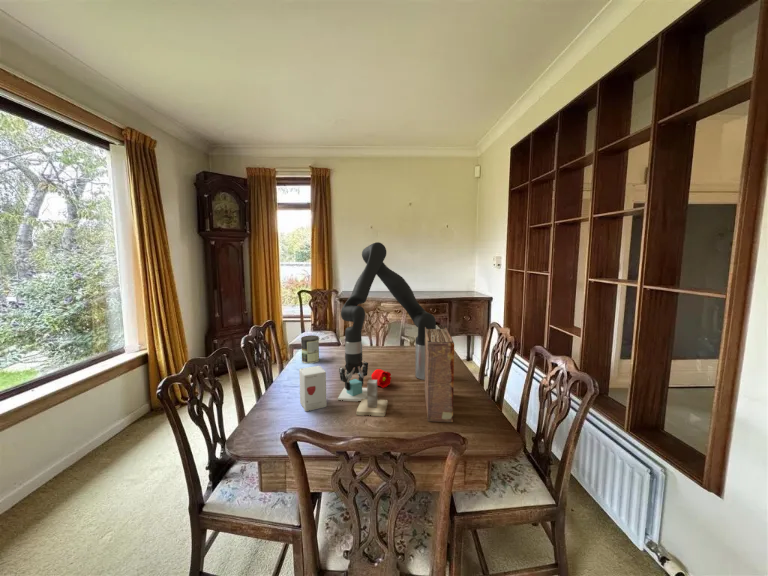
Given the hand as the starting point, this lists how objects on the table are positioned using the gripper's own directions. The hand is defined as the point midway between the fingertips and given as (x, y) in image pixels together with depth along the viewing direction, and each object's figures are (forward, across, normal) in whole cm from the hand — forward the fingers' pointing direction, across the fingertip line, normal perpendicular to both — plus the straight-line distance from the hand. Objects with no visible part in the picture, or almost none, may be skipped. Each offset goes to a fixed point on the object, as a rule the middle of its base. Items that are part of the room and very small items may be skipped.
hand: (354, 387), depth 139 cm
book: (+4, -20, +30) cm, 37 cm away
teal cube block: (+2, 0, 0) cm, 2 cm away
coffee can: (+4, -6, -57) cm, 57 cm away
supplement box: (+4, +18, -3) cm, 19 cm away
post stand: (+3, +1, +16) cm, 16 cm away
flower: (+4, -16, -2) cm, 16 cm away
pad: (+3, 0, 0) cm, 3 cm away
